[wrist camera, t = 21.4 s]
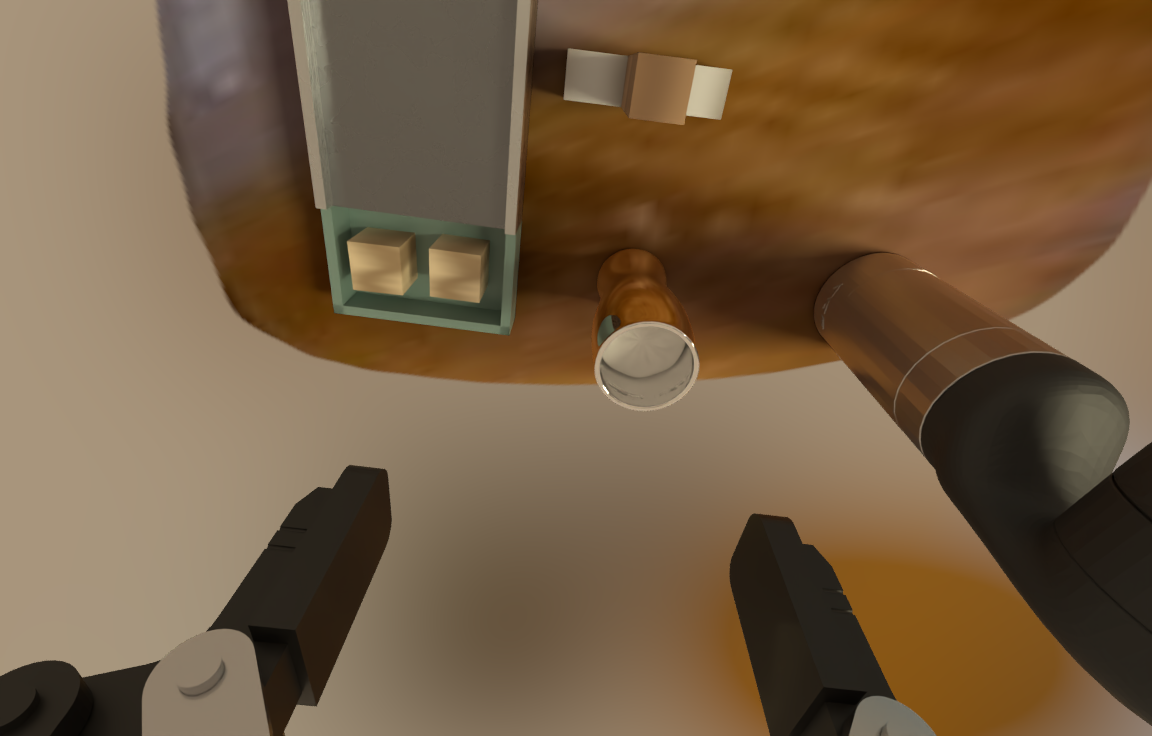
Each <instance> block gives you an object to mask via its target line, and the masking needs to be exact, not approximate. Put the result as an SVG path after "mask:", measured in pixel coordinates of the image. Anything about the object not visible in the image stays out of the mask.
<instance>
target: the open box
mask: <svg viewBox="0 0 1152 736" xmlns="http://www.w3.org/2000/svg"><path fill="white" fill-rule="evenodd" d="M287 2H288V9H289V17H290V24H291V31H292V38H293V46H294V53H295V60H296V68H297V75H298V82H299V89H300V97H301V104H302V111H303V119H304V126H305V133H306V141H307V148H308V155H309V162H310V170H311V177H312V184H313V192H314V199H315V206H316V208H319V209H326V210H327V209H329V208H331V207H332V206H339V207H346V208H353V209H361V210H368V211H375V212H382V213H390V214H397V215H404V216H412V217H419V218H426V219H434V220H441V221H448V222H455V223H463V224H470V225H477V226H485V227H492V228H499V229H505V234H509V235H515V234H516V232H517V230H518V228H519V226H520V224H521V222H522V212H523V199H524V185H525V171H526V157H527V143H528V130H529V116H530V102H531V88H532V74H533V61H534V47H535V33H536V19H537V5H538V0H287Z"/></svg>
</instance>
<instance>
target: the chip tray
mask: <svg viewBox="0 0 1152 736" xmlns="http://www.w3.org/2000/svg"><path fill="white" fill-rule="evenodd" d="M321 216H322V224H323V231H324V239H325V246H326V254H327V261H328V269H329V277H330V284H331V292H332V299H333V307H334V313H339V314H347V315H355V316H362V317H370V318H378V319H386V320H393V321H401V322H409V323H417V324H425V325H432V326H440V327H448V328H456V329H463V330H471V331H479V332H487V333H495V334H502V335H510V332H511V329H512V325H513V322H514V319H515V309H516V295H517V281H518V268H519V254H520V240H521V226H522V222H521V224H520V226H519V228H518V230H517V232H516V234H515V235H509V234H505V229H499V228H492V227H485V226H477V225H470V224H463V223H455V222H448V221H441V220H434V219H426V218H419V217H412V216H404V215H397V214H390V213H382V212H375V211H368V210H361V209H353V208H346V207H339V206H332V207H331V208H329V209H327V210H326V209H321ZM367 227H371V228H379V229H388V230H396V231H405V232H413V233H415V237H416V256H417V274H418V278H417V279H416V280H415V282H414V283H413V284H412V285H411V286H410V287H409V289H408V290H407V291H406V292H405V293H404V295H395V294H386V293H377V292H369V291H360V290H353V284H352V276H351V268H350V261H349V253H348V245H347V241H348V240H350V239H351V238H352V237H354V236H355V235H357V234H358V233H360V232H361V231H362V230H364V229H365V228H367ZM442 234H448V235H455V236H462V237H469V238H477V239H484V240H490V252H489V276H488V286H487V288H486V290H485V292H484V294H483V296H482V298H481V300H480V302H479V303H476V302H468V301H461V300H453V299H446V298H438V297H431V296H430V275H429V248H430V247H431V246H432V245H433V244H434V242H435V241H436V240H437V239H438V238H439V237H440V236H441V235H442Z"/></svg>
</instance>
